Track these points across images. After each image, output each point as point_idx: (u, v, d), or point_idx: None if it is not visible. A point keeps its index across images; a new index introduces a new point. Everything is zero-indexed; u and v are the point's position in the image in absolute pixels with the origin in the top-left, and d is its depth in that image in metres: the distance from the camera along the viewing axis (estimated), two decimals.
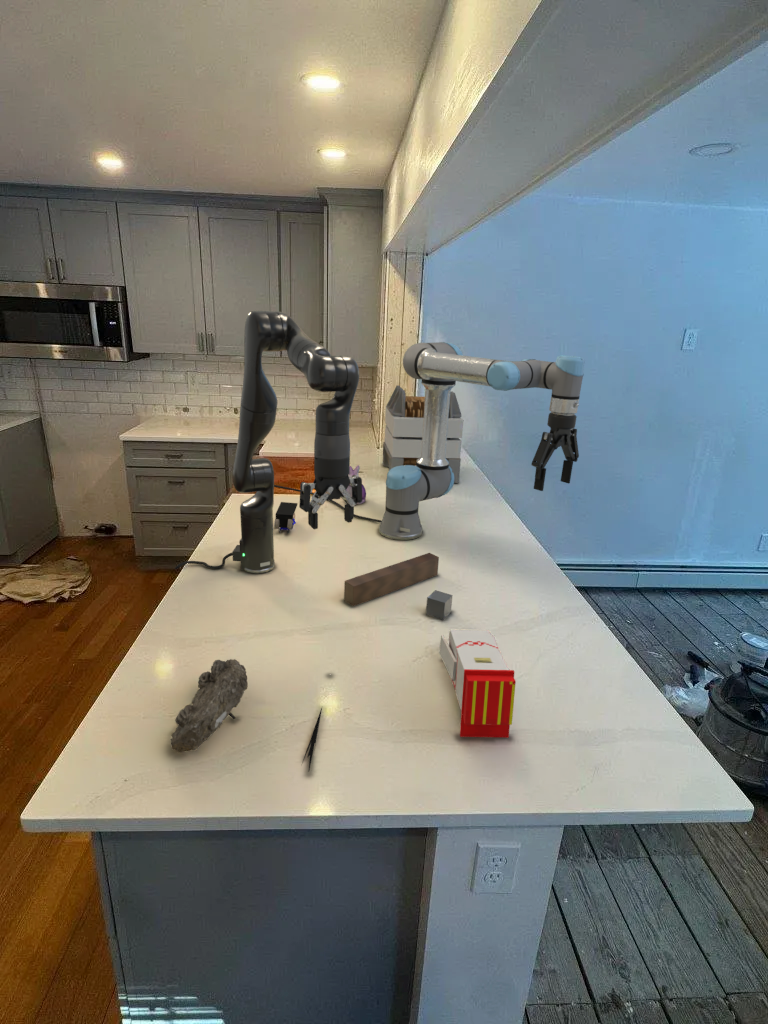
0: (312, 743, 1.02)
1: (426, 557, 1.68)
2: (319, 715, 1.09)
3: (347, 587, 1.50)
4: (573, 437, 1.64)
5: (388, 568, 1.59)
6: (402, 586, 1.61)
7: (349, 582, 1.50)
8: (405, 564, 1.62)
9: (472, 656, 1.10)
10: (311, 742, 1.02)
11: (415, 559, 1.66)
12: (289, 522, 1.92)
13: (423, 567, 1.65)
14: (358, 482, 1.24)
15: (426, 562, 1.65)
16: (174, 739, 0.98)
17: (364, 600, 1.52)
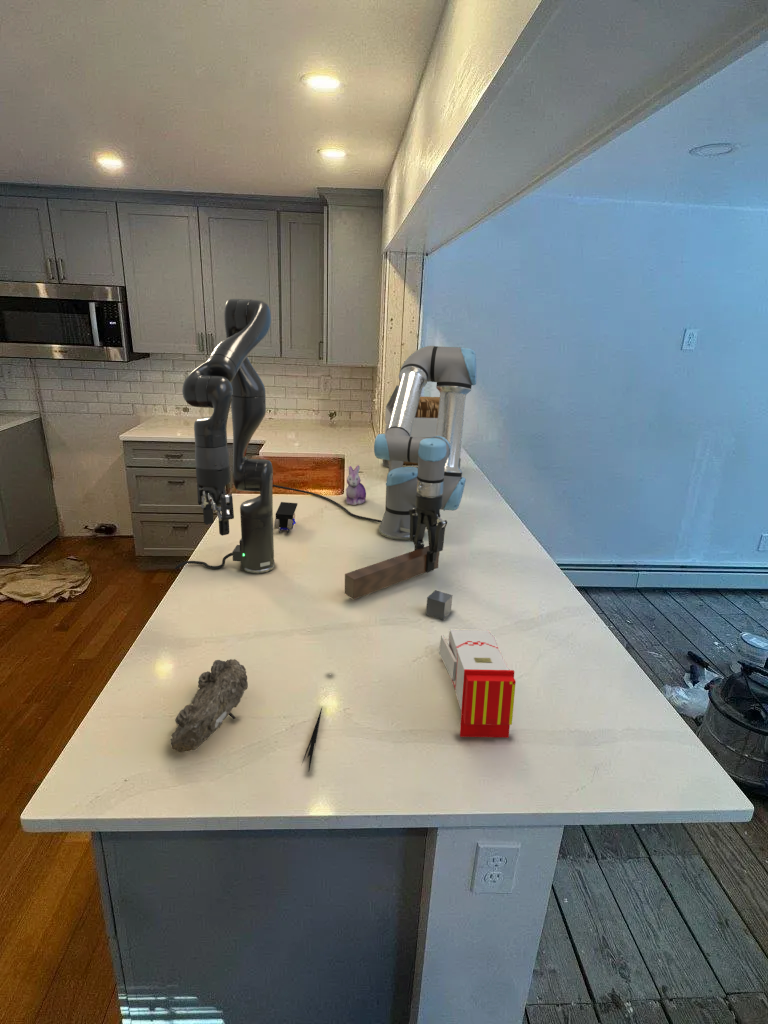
0: (312, 743, 1.02)
1: (427, 549, 1.67)
2: (319, 715, 1.09)
3: (347, 580, 1.50)
4: None
5: (389, 561, 1.59)
6: (403, 579, 1.61)
7: (350, 575, 1.50)
8: (405, 557, 1.62)
9: (472, 656, 1.10)
10: (311, 742, 1.02)
11: (416, 551, 1.65)
12: (289, 522, 1.92)
13: (424, 560, 1.64)
14: None
15: (426, 554, 1.65)
16: (174, 739, 0.98)
17: (364, 593, 1.52)
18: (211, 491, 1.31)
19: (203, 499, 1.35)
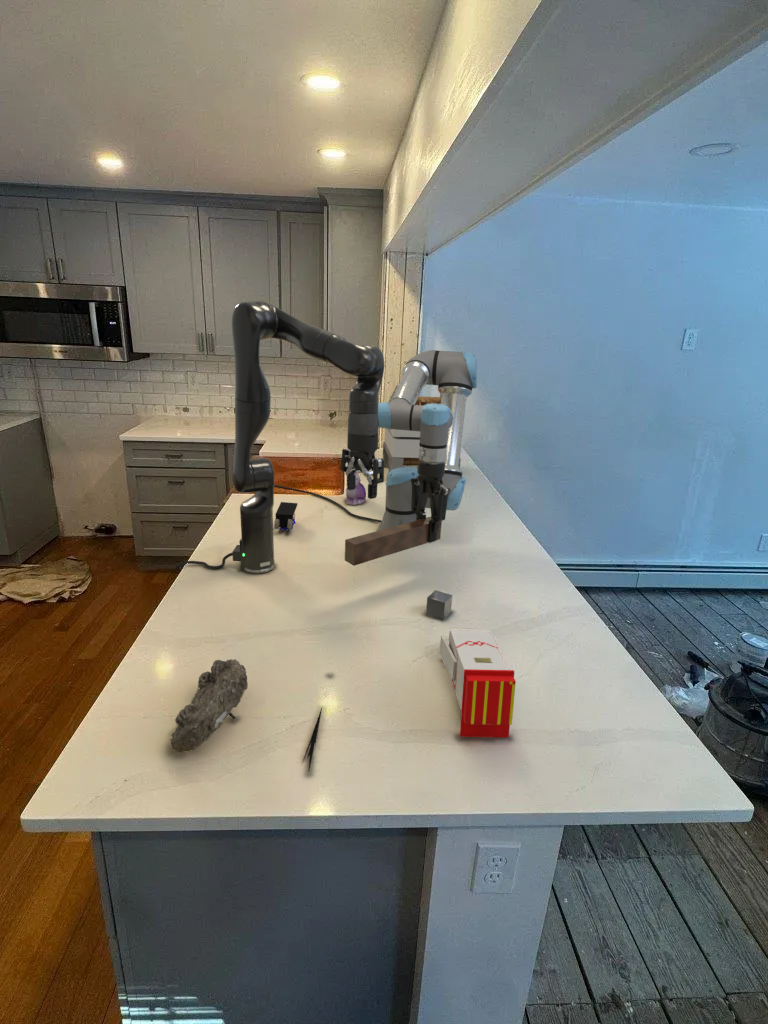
0: (312, 743, 1.02)
1: (429, 519, 1.64)
2: (319, 715, 1.09)
3: (348, 546, 1.46)
4: None
5: (390, 529, 1.55)
6: (404, 548, 1.57)
7: (350, 541, 1.46)
8: (407, 526, 1.58)
9: (472, 656, 1.10)
10: (311, 742, 1.02)
11: (418, 521, 1.62)
12: (289, 522, 1.92)
13: (426, 530, 1.61)
14: None
15: None
16: (174, 739, 0.98)
17: (365, 560, 1.48)
18: (361, 456, 1.39)
19: (350, 465, 1.42)
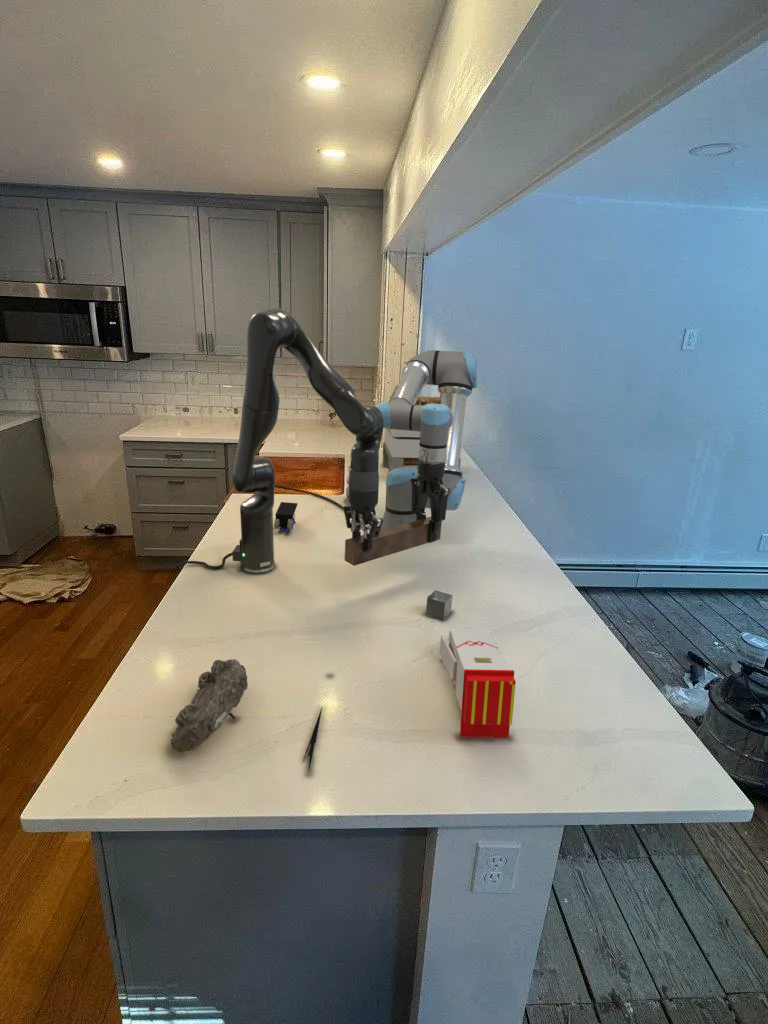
0: (312, 743, 1.02)
1: (429, 519, 1.64)
2: (319, 715, 1.09)
3: (348, 546, 1.46)
4: None
5: (390, 529, 1.55)
6: (404, 548, 1.57)
7: (350, 541, 1.46)
8: (407, 526, 1.58)
9: (472, 656, 1.10)
10: (311, 742, 1.02)
11: (418, 521, 1.62)
12: (289, 522, 1.92)
13: (426, 530, 1.61)
14: None
15: None
16: (174, 739, 0.98)
17: (365, 560, 1.48)
18: (362, 511, 1.44)
19: (353, 520, 1.46)
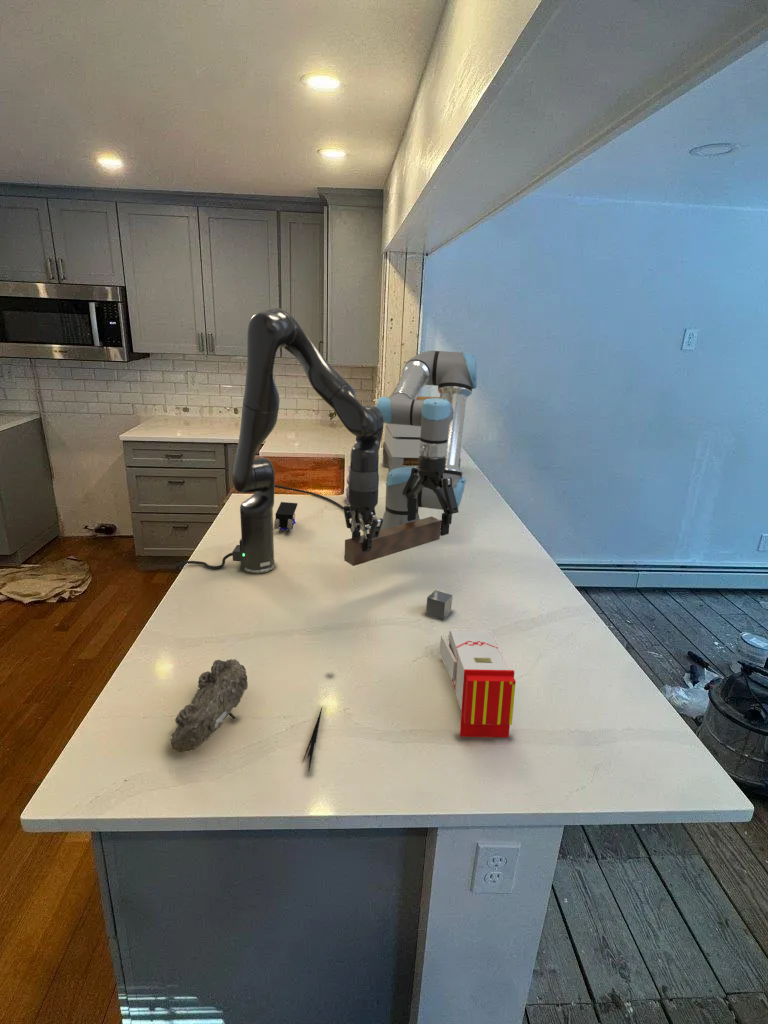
0: (312, 743, 1.02)
1: (429, 520, 1.64)
2: (319, 715, 1.09)
3: (347, 546, 1.46)
4: None
5: (389, 529, 1.55)
6: (404, 548, 1.57)
7: (350, 541, 1.46)
8: (407, 526, 1.58)
9: (472, 656, 1.10)
10: (311, 742, 1.02)
11: (417, 521, 1.62)
12: (289, 522, 1.92)
13: (425, 530, 1.61)
14: None
15: (428, 524, 1.61)
16: (174, 739, 0.98)
17: (365, 560, 1.48)
18: (361, 511, 1.44)
19: (353, 520, 1.46)
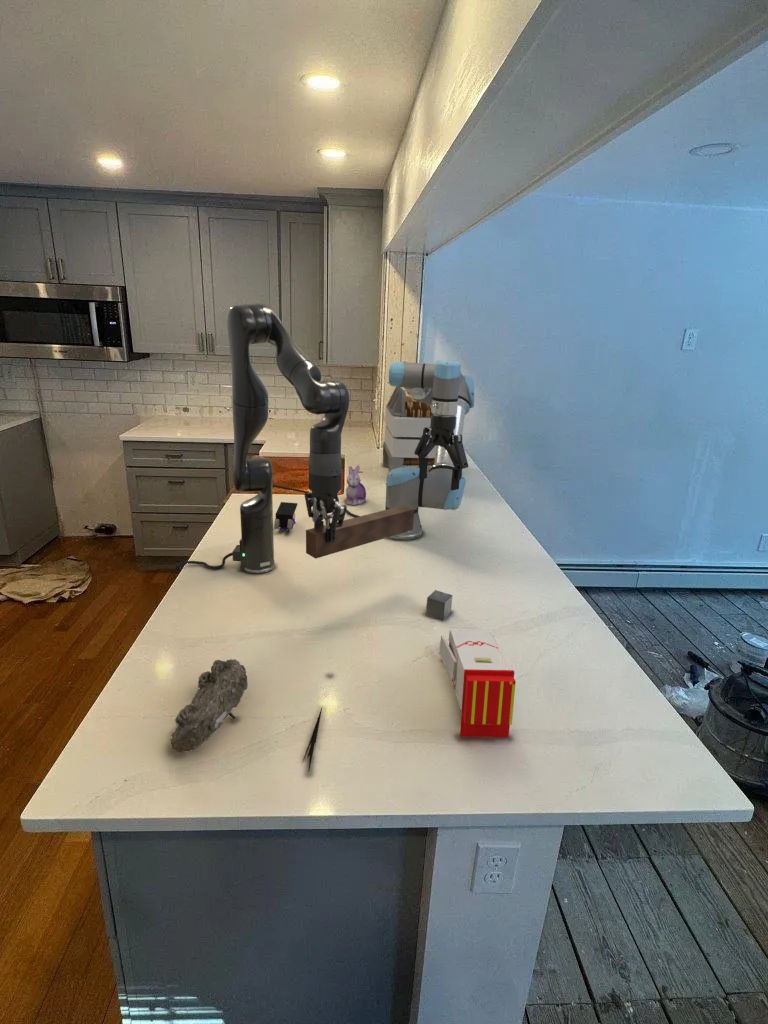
0: (312, 743, 1.02)
1: (400, 509, 1.50)
2: (319, 715, 1.09)
3: (309, 537, 1.33)
4: None
5: (357, 519, 1.42)
6: (373, 539, 1.44)
7: (311, 531, 1.32)
8: (376, 515, 1.45)
9: (472, 656, 1.10)
10: (311, 742, 1.02)
11: (388, 510, 1.49)
12: (289, 522, 1.92)
13: (396, 520, 1.47)
14: None
15: (400, 513, 1.48)
16: (174, 739, 0.98)
17: (328, 552, 1.35)
18: (323, 497, 1.30)
19: (314, 508, 1.33)
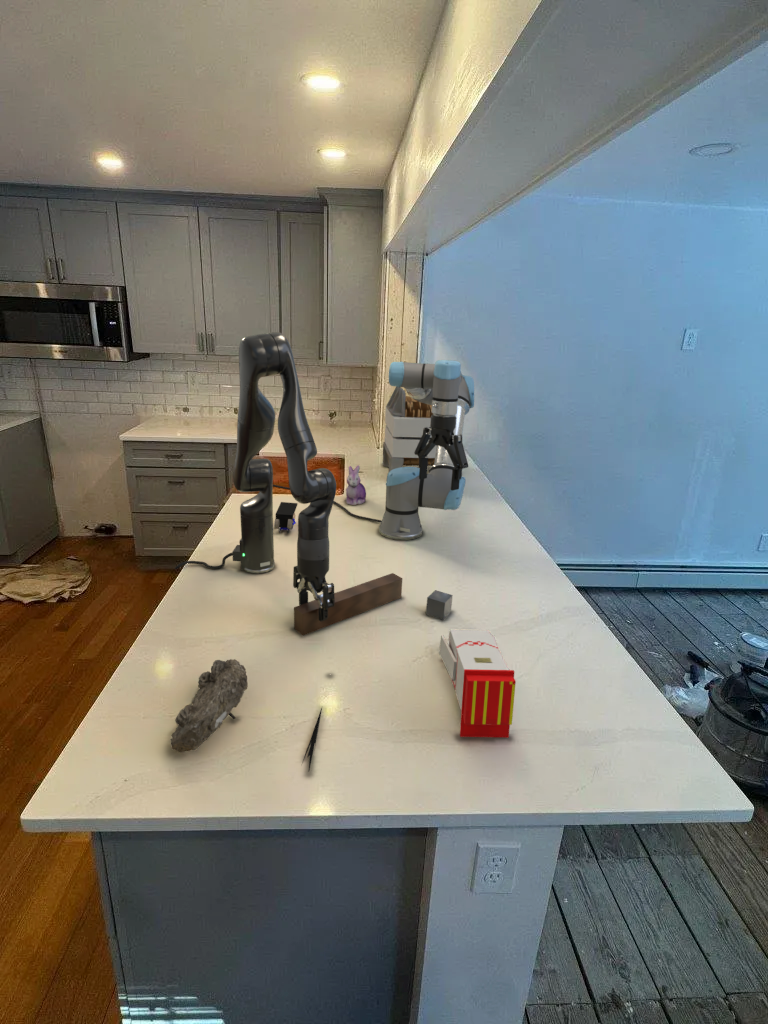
0: (312, 743, 1.02)
1: (389, 578, 1.53)
2: (319, 715, 1.09)
3: (296, 614, 1.36)
4: None
5: (344, 592, 1.45)
6: (360, 611, 1.47)
7: (299, 609, 1.36)
8: (364, 587, 1.48)
9: (472, 656, 1.10)
10: (311, 742, 1.02)
11: (376, 580, 1.52)
12: (289, 522, 1.92)
13: (384, 590, 1.51)
14: None
15: (387, 584, 1.51)
16: (174, 739, 0.98)
17: (316, 628, 1.38)
18: (311, 579, 1.34)
19: (301, 585, 1.37)
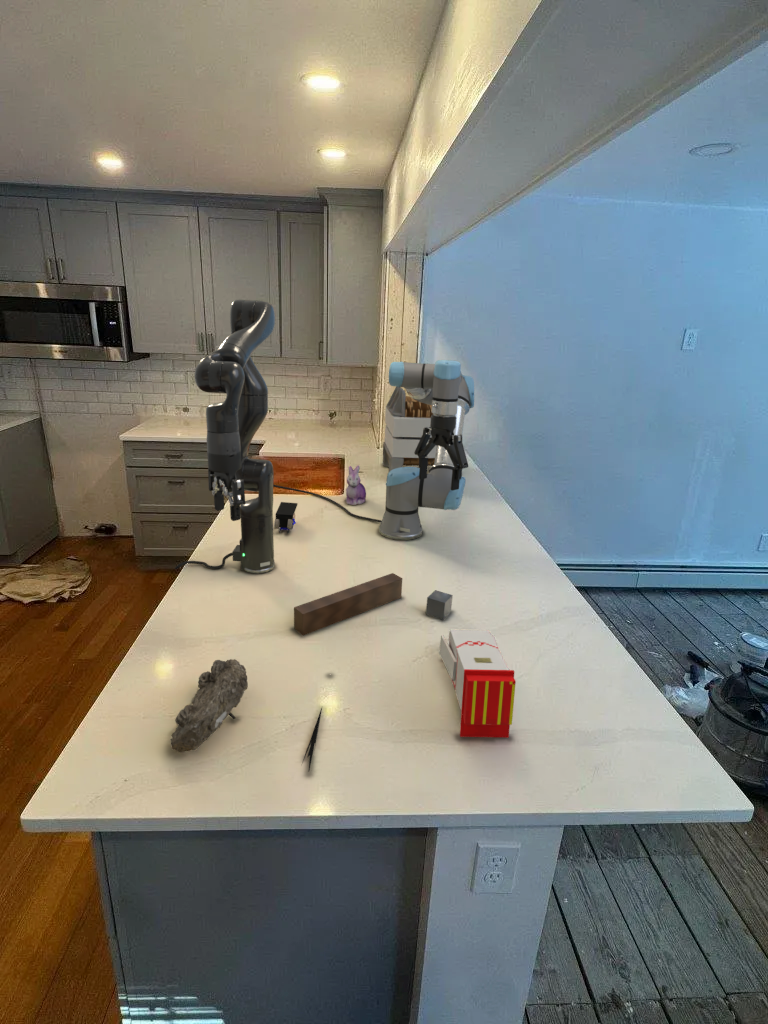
0: (312, 743, 1.02)
1: (389, 578, 1.53)
2: (319, 715, 1.09)
3: (296, 614, 1.36)
4: None
5: (344, 592, 1.45)
6: (360, 611, 1.47)
7: (299, 609, 1.36)
8: (364, 587, 1.48)
9: (472, 656, 1.10)
10: (311, 742, 1.02)
11: (376, 580, 1.52)
12: (289, 522, 1.92)
13: (384, 590, 1.51)
14: None
15: (387, 584, 1.51)
16: (174, 739, 0.98)
17: (316, 628, 1.38)
18: (222, 477, 1.32)
19: (214, 485, 1.35)
